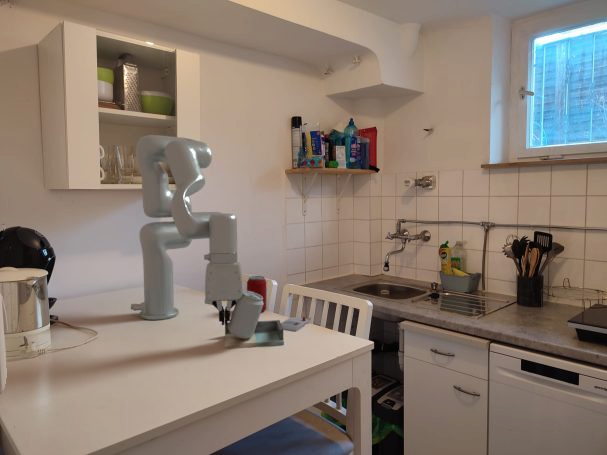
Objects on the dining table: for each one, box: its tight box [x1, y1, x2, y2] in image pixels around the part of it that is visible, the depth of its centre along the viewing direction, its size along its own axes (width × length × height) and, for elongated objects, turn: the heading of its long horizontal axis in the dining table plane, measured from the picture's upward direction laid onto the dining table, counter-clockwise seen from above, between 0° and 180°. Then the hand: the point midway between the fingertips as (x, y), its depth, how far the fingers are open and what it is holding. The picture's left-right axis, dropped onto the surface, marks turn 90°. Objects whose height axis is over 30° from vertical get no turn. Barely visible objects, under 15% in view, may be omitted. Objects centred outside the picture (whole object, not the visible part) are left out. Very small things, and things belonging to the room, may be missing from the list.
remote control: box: [281, 316, 312, 333], centre depth 141 cm, size 7×16×3 cm, turn 155°
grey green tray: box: [224, 319, 285, 349], centre depth 126 cm, size 16×10×4 cm, turn 100°
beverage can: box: [246, 275, 267, 313], centre depth 157 cm, size 7×7×12 cm
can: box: [228, 290, 264, 339], centre depth 125 cm, size 8×8×12 cm
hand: (224, 323), depth 124 cm, fingers closed
